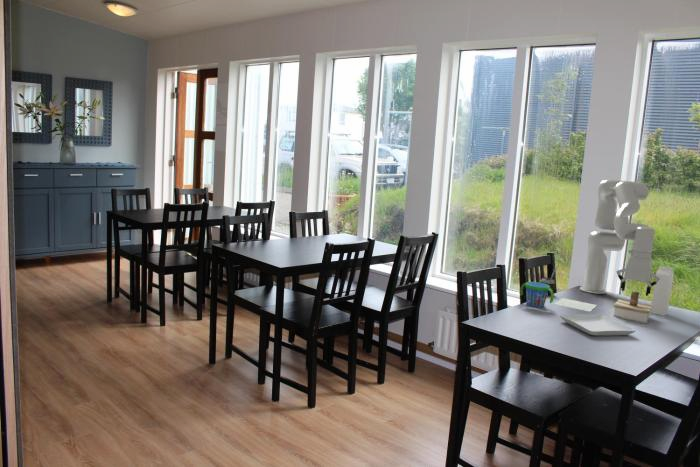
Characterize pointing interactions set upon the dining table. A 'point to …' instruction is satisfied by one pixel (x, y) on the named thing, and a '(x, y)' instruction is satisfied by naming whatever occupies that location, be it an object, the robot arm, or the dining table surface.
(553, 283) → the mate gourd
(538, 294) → the snack cup
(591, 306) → the mat
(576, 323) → the salad plate
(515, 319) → the dining table surface
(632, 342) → the dining table surface
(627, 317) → the cream square dish
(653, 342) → the dining table surface
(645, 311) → the lid
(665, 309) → the milk
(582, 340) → the dining table surface
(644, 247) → the robot arm
